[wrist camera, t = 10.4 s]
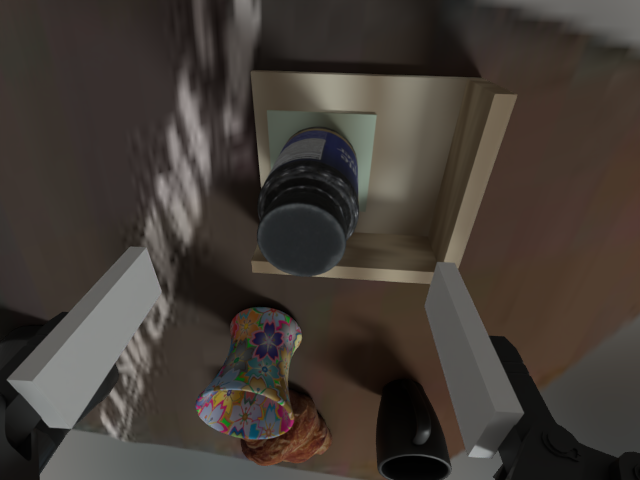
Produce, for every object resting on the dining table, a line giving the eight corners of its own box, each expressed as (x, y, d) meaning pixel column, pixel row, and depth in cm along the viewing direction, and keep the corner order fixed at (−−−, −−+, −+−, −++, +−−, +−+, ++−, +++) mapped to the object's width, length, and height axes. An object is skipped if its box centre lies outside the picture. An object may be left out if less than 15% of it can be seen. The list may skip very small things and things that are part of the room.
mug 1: (224, 296, 37) (185, 383, 28) (306, 302, 36) (292, 393, 28) (236, 360, 44) (208, 447, 35) (305, 366, 43) (294, 455, 34)
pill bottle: (364, 189, 27) (371, 279, 18) (294, 204, 28) (268, 295, 19) (347, 114, 23) (344, 177, 14) (269, 135, 25) (222, 205, 16)
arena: (267, 233, 31) (252, 272, 26) (253, 70, 23) (228, 84, 18) (436, 243, 30) (452, 285, 26) (481, 77, 22) (517, 94, 18)
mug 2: (448, 358, 40) (472, 442, 32) (426, 409, 47) (441, 488, 39) (381, 352, 40) (388, 434, 32) (369, 404, 47) (373, 481, 39)
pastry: (345, 385, 45) (344, 448, 39) (331, 436, 54) (328, 494, 48) (225, 369, 45) (204, 429, 39) (231, 423, 54) (214, 479, 48)
